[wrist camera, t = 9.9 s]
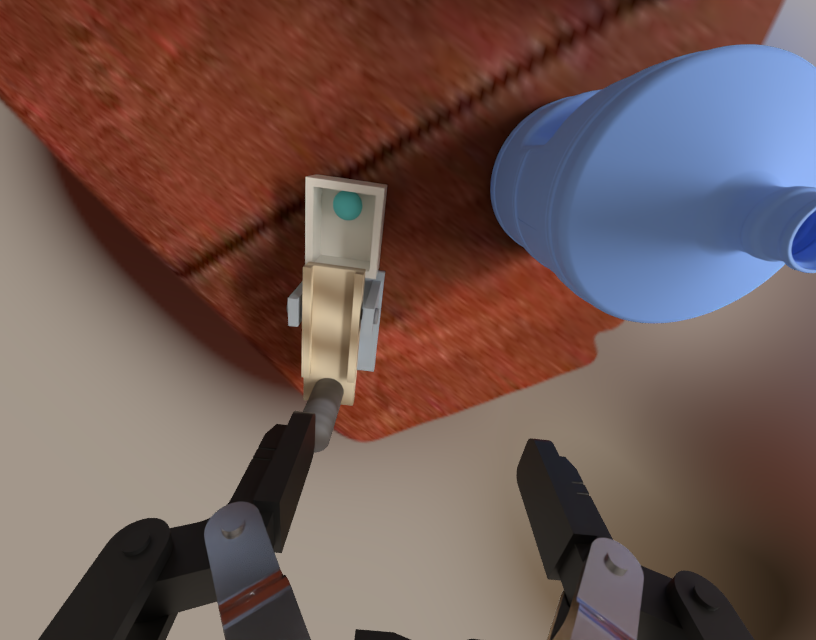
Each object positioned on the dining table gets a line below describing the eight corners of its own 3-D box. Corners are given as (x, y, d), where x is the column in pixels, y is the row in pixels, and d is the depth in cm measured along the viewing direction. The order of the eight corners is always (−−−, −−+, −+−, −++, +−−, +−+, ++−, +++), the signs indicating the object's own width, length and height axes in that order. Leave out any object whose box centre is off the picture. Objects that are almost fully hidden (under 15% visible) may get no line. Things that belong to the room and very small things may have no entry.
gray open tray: (316, 174, 38) (305, 176, 34) (387, 184, 39) (384, 188, 35) (315, 258, 43) (305, 269, 39) (379, 267, 43) (375, 279, 39)
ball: (329, 194, 35) (330, 223, 38) (360, 199, 36) (359, 227, 38) (336, 183, 38) (336, 210, 40) (364, 187, 38) (363, 214, 40)
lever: (307, 261, 36) (276, 289, 28) (366, 269, 36) (353, 299, 28) (305, 393, 43) (279, 448, 34) (354, 399, 43) (341, 455, 35)
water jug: (599, 257, 42) (873, 412, 17) (474, 240, 42) (569, 374, 16) (656, 111, 35) (1250, 12, 10) (508, 87, 35) (760, -85, 10)
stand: (308, 260, 43) (283, 286, 35) (385, 271, 43) (378, 299, 35) (307, 361, 49) (286, 403, 41) (374, 369, 50) (366, 412, 42)
